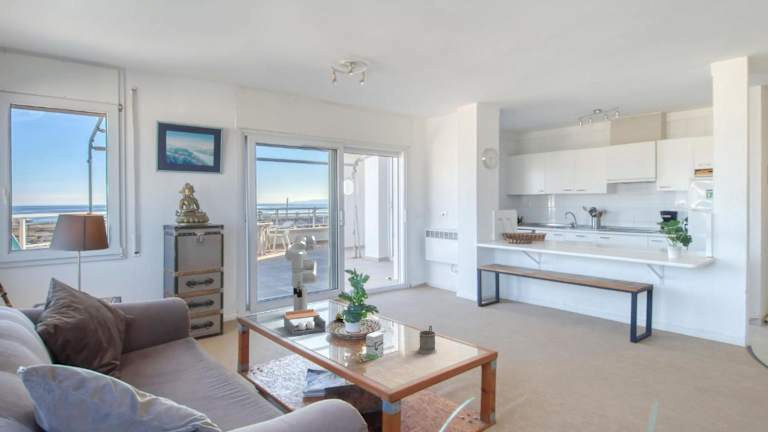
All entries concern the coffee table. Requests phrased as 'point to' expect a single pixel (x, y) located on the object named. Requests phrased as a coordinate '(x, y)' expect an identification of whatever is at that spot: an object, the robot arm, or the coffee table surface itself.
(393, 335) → the coffee table surface
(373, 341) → the ink box
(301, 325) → the peg
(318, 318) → the housing
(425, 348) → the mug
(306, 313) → the lid
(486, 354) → the coffee table surface
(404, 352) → the coffee table surface
